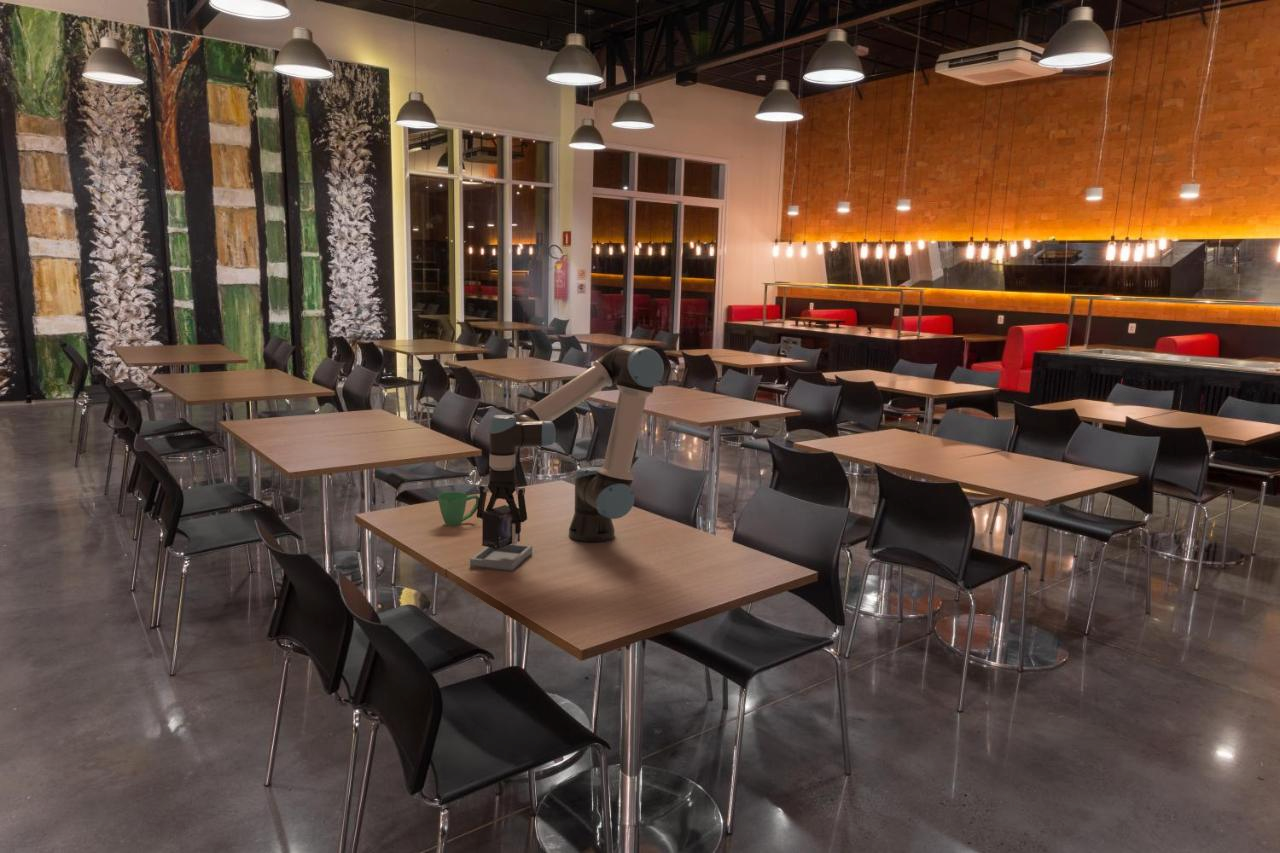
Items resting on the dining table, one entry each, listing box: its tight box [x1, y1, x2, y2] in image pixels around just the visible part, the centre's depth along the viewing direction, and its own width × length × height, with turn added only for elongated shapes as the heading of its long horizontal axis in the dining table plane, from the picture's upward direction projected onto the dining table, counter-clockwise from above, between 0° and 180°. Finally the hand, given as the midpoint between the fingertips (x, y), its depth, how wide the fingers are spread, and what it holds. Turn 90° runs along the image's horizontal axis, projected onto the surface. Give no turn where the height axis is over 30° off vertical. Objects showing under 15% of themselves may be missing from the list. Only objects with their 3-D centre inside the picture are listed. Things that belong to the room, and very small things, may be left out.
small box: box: [481, 504, 521, 549], centre depth 251 cm, size 11×6×10 cm, turn 149°
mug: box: [437, 491, 480, 527], centre depth 288 cm, size 15×10×10 cm
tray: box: [469, 543, 533, 573], centre depth 253 cm, size 13×17×2 cm
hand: (501, 542), depth 252 cm, fingers closed on small box, 8 cm apart
